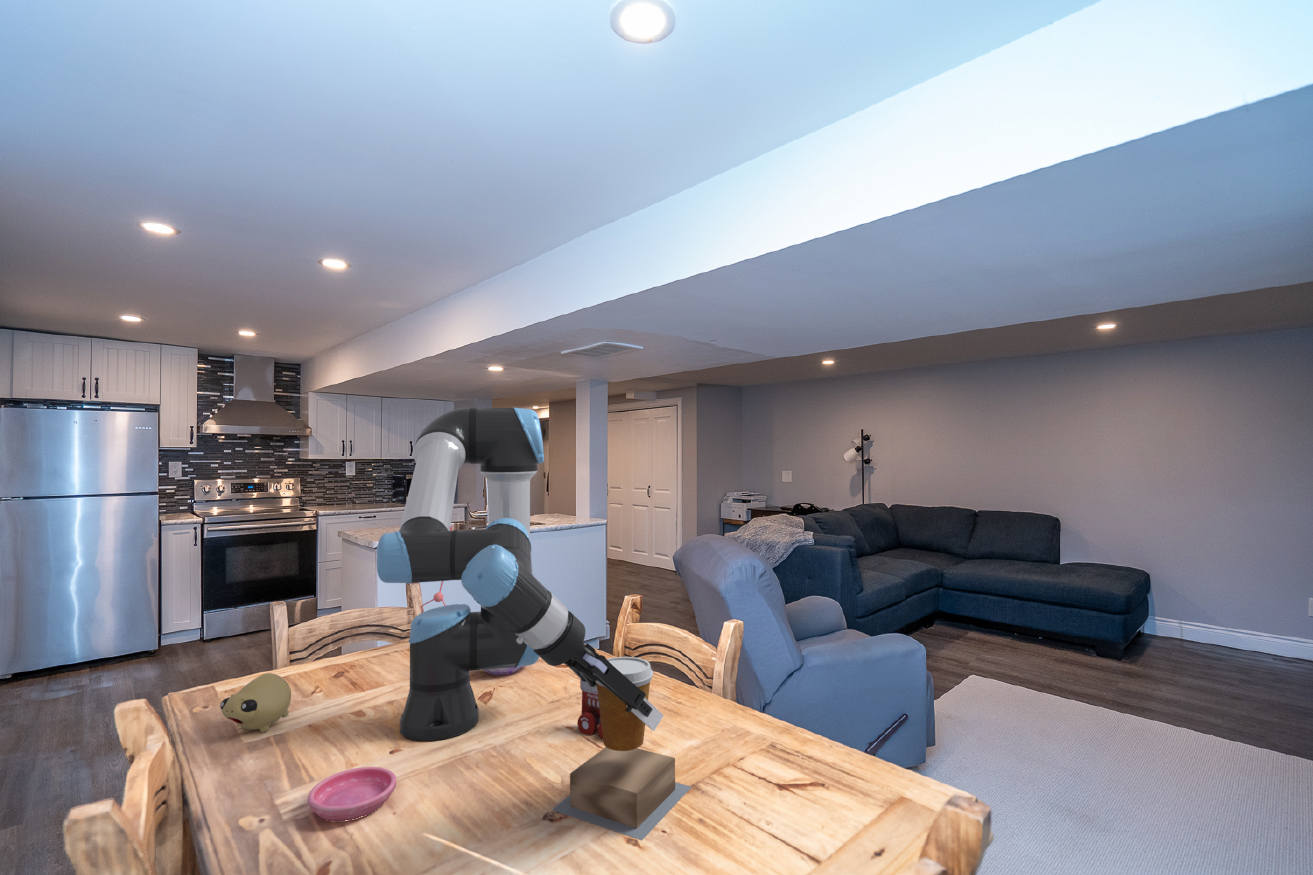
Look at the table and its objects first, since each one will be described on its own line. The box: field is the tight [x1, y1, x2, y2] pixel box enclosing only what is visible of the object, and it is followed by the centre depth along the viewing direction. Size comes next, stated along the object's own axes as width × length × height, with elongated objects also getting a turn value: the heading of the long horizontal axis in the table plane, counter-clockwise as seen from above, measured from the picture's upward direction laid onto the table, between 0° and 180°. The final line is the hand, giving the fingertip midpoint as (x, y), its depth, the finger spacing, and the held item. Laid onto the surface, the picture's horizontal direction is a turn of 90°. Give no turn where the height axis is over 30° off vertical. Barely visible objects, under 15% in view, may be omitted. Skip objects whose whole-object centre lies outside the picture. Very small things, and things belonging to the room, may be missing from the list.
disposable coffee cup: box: [595, 656, 654, 751], centre depth 98 cm, size 10×10×12 cm
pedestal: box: [569, 746, 676, 828], centre depth 98 cm, size 12×12×5 cm
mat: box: [551, 781, 692, 841], centre depth 98 cm, size 16×16×1 cm
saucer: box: [307, 766, 397, 823], centre depth 97 cm, size 12×12×3 cm
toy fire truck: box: [576, 679, 603, 740], centre depth 122 cm, size 7×12×10 cm, turn 58°
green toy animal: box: [219, 672, 292, 734], centre depth 125 cm, size 10×12×11 cm
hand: (640, 712), depth 100 cm, fingers closed on disposable coffee cup, 8 cm apart
